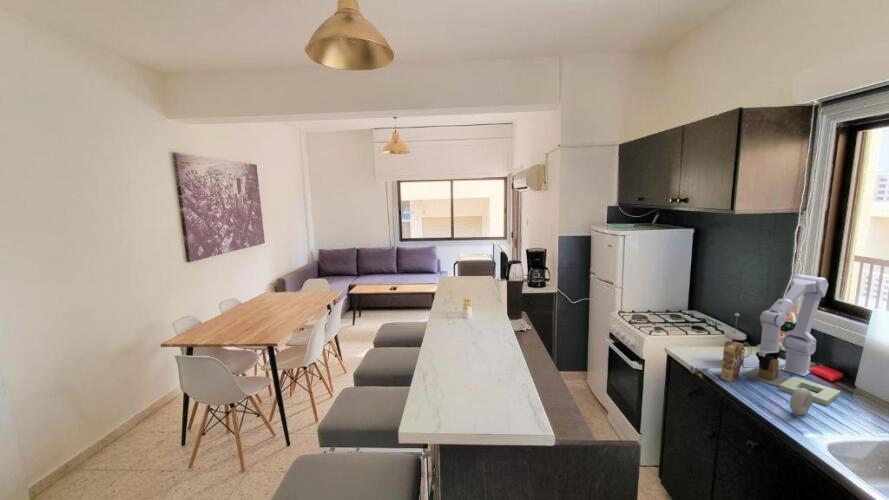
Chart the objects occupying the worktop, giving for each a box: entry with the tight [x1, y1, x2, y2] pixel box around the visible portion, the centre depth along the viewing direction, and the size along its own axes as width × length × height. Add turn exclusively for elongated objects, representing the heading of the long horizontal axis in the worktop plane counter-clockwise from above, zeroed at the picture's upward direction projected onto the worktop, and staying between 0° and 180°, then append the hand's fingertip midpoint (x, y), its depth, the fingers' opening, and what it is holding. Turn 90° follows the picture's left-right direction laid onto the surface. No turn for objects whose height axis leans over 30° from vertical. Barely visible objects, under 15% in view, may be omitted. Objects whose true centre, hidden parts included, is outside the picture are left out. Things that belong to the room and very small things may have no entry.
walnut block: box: [758, 359, 780, 381], centre depth 157 cm, size 5×5×8 cm
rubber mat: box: [743, 367, 790, 388], centre depth 157 cm, size 12×12×1 cm
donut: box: [789, 387, 813, 416], centre depth 130 cm, size 10×4×10 cm, turn 113°
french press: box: [719, 312, 753, 369], centre depth 169 cm, size 10×12×25 cm
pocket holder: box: [778, 375, 841, 406], centre depth 145 cm, size 14×14×2 cm
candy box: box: [720, 341, 744, 382], centre depth 157 cm, size 9×4×15 cm, turn 123°
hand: (767, 367), depth 157 cm, fingers open, 6 cm apart
